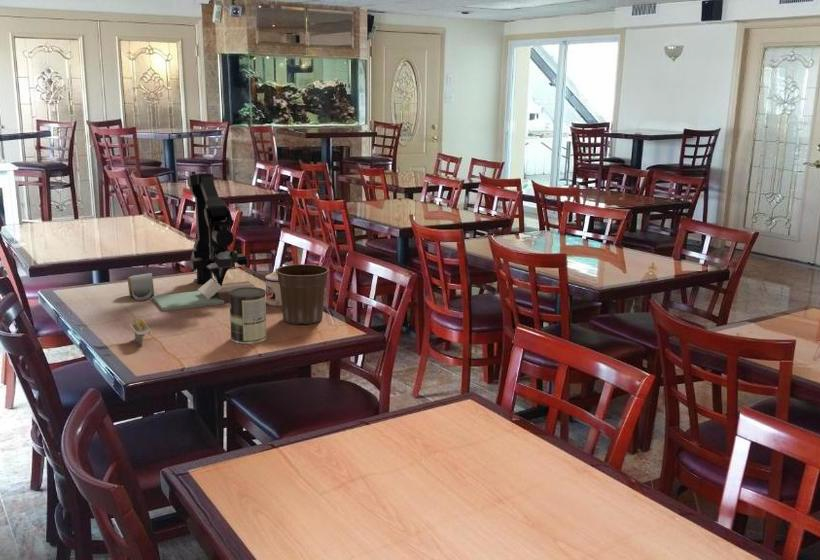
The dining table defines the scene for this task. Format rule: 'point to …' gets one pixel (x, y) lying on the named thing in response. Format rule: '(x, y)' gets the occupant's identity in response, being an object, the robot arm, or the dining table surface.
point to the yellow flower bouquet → (139, 330)
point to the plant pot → (302, 292)
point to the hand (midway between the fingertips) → (219, 286)
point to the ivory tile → (209, 288)
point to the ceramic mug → (141, 286)
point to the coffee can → (248, 315)
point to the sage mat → (184, 300)
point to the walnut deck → (224, 291)
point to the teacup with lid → (273, 290)
